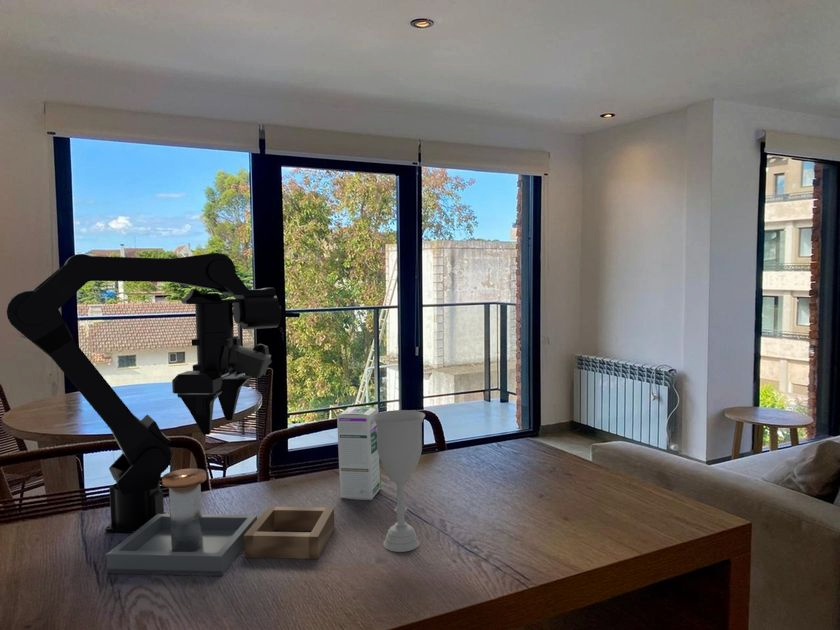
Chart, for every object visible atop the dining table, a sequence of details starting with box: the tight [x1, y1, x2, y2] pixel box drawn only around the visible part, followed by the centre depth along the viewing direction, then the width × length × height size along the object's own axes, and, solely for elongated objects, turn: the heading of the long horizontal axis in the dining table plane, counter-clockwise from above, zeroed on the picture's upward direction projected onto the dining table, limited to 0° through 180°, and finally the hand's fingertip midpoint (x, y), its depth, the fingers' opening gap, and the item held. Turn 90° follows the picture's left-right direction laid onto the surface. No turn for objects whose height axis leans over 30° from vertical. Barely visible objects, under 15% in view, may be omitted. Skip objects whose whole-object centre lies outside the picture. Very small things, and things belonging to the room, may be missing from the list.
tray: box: [105, 513, 258, 577], centre depth 82 cm, size 15×13×2 cm
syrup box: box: [336, 406, 382, 501], centre depth 103 cm, size 6×6×14 cm
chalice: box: [373, 409, 426, 553], centre depth 83 cm, size 7×7×18 cm
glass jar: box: [161, 467, 207, 552], centre depth 82 cm, size 6×6×10 cm
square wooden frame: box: [243, 506, 336, 560], centre depth 85 cm, size 10×10×3 cm
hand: (218, 427), depth 98 cm, fingers open, 9 cm apart
